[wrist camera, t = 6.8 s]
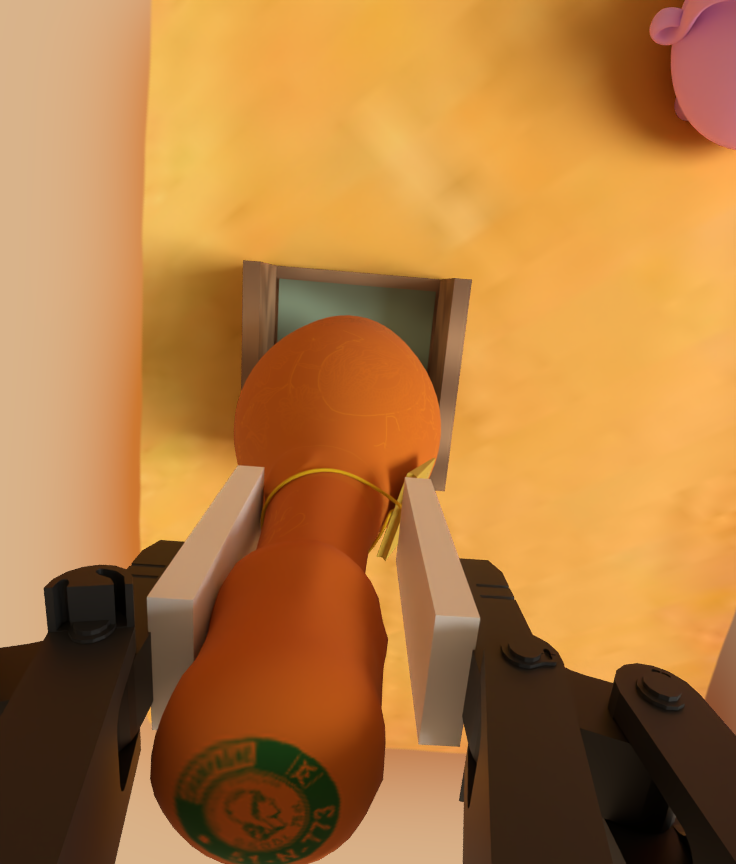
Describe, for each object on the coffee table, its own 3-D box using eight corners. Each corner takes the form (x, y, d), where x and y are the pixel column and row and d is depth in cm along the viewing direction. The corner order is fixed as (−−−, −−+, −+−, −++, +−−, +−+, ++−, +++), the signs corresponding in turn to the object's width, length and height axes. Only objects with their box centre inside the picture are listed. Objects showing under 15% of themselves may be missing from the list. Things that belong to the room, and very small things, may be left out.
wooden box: (264, 265, 44) (243, 260, 36) (452, 280, 44) (471, 279, 36) (260, 445, 48) (240, 476, 40) (431, 457, 49) (444, 491, 41)
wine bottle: (331, 478, 37) (201, 1141, 8) (247, 366, 35) (-321, 735, 6) (446, 403, 36) (778, 895, 7) (366, 280, 34) (355, 243, 5)
